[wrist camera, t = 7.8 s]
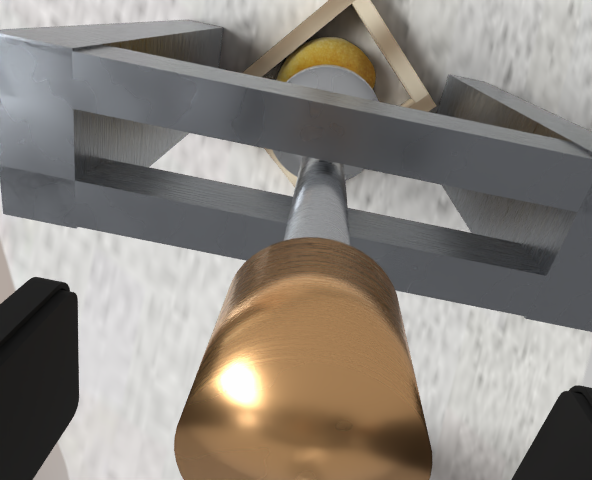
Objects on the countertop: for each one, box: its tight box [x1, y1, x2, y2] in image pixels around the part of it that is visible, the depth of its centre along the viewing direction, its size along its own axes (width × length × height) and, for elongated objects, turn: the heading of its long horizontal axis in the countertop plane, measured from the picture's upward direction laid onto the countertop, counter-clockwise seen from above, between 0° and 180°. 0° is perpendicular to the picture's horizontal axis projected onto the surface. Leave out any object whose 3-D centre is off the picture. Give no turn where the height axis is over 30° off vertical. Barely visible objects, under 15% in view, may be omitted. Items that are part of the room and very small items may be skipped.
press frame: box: [0, 20, 592, 332], centre depth 29 cm, size 7×25×25 cm, turn 79°
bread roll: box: [276, 37, 376, 90], centre depth 39 cm, size 8×9×4 cm
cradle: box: [242, 0, 436, 187], centre depth 39 cm, size 11×13×2 cm
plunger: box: [174, 65, 432, 480], centre depth 19 cm, size 7×7×25 cm
